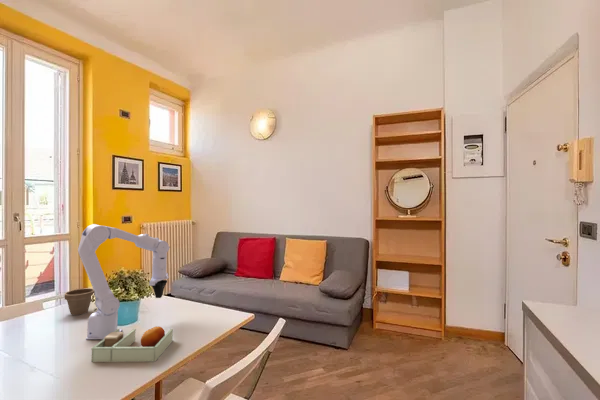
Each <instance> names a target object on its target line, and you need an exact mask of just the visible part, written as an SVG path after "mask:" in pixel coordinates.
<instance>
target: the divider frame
mask: <svg viewBox="0 0 600 400" xmlns="http://www.w3.org/2000/svg"><path fill="white" fill-rule="evenodd" d="M119 331H120V328H117V330H115V331H114V332H119ZM136 331H137V329H136V328H133V329H132V330H131V331H129V332H128V333H126V334H125V335H123V338H122V339H121V340H119V341H118V342H117V343H116V344H114V345H113V346H112V347H104V346H105V339H101V340H100V341H99V342H98V343H96V344H95V345H93V346H92V347H91V363H93V362H94V363H95V362H96V363H99V362H100V363H101V362H103V363H104V362H105V363H107V362H108V363H109V362H110V363H111V362H112V363H115V362H116V363H117V362H118V363H119V362H120V363H121V362H124V363H125V362H126V363H127V362H156V361H157V360H158V359H159V358H160V357H161V355H162V354H163V353H164V352H165V351H166V349H168V347H169V346H170V344H171V343H172V342H173V341H174V340H173V339H174V338H173V335H174V334H173V333H174V328H170V329H169V330H168V331H167V332H166V333H165V336H164V337H163V338H162V339H161V340H160V341H159V342H158V343H157V344H156V345H155V347H143V346H131V345H132V344H134V342H136Z"/></svg>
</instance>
